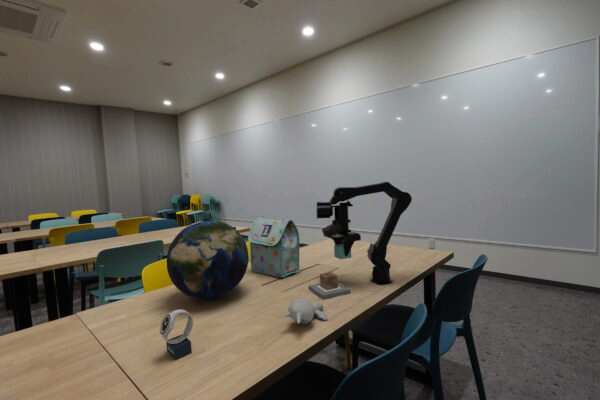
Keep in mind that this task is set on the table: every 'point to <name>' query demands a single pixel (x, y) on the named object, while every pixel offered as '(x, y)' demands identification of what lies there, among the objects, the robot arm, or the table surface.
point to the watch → (180, 343)
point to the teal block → (340, 252)
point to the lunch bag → (274, 247)
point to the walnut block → (328, 281)
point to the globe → (207, 259)
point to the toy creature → (304, 311)
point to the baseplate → (329, 291)
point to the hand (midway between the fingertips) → (342, 254)
